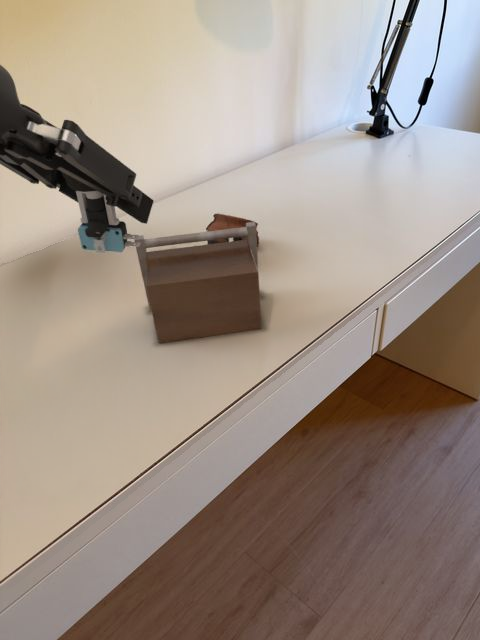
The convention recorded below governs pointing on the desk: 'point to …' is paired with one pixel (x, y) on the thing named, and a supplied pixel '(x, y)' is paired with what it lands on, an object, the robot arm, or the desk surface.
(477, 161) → the desk surface
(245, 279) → the box
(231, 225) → the pottery mug
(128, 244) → the push button
